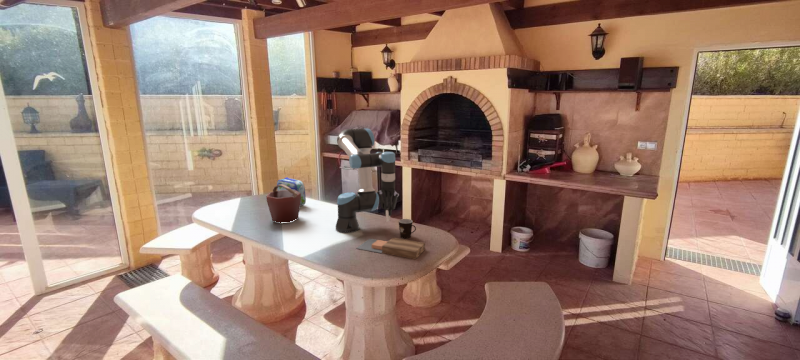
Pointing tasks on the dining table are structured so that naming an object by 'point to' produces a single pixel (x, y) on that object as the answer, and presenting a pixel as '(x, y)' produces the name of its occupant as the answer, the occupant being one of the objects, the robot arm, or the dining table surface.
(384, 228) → the dining table surface
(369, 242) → the mat
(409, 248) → the block
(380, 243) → the tile
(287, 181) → the lunch box
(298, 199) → the bucket
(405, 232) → the coffee mug
